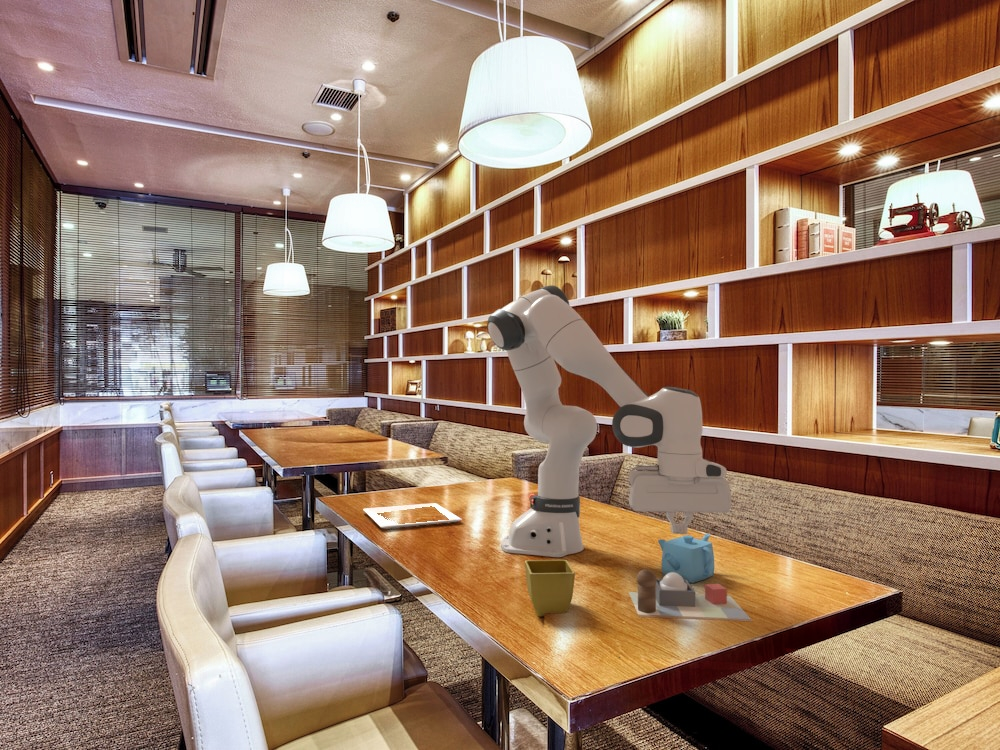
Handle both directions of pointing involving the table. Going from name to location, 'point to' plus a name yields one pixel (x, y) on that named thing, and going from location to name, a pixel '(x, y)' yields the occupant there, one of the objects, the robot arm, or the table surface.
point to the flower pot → (550, 585)
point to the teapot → (688, 557)
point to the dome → (673, 582)
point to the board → (690, 606)
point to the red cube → (715, 594)
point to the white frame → (390, 524)
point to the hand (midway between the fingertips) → (679, 533)
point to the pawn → (646, 591)
